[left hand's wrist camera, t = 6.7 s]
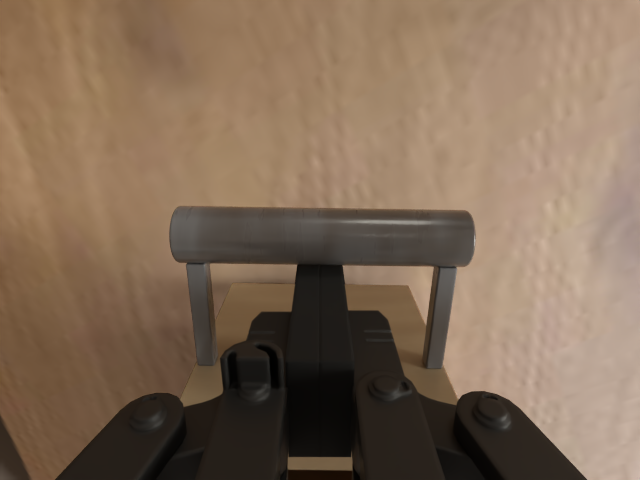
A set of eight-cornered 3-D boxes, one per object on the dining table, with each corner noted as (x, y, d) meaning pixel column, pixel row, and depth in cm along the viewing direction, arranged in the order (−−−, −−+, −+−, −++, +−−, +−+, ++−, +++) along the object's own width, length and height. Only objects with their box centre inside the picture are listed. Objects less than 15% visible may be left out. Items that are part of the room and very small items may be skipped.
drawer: (222, 168, 18) (126, 248, 9) (422, 171, 18) (521, 254, 9) (247, 514, 26) (209, 734, 17) (385, 516, 26) (418, 737, 17)
